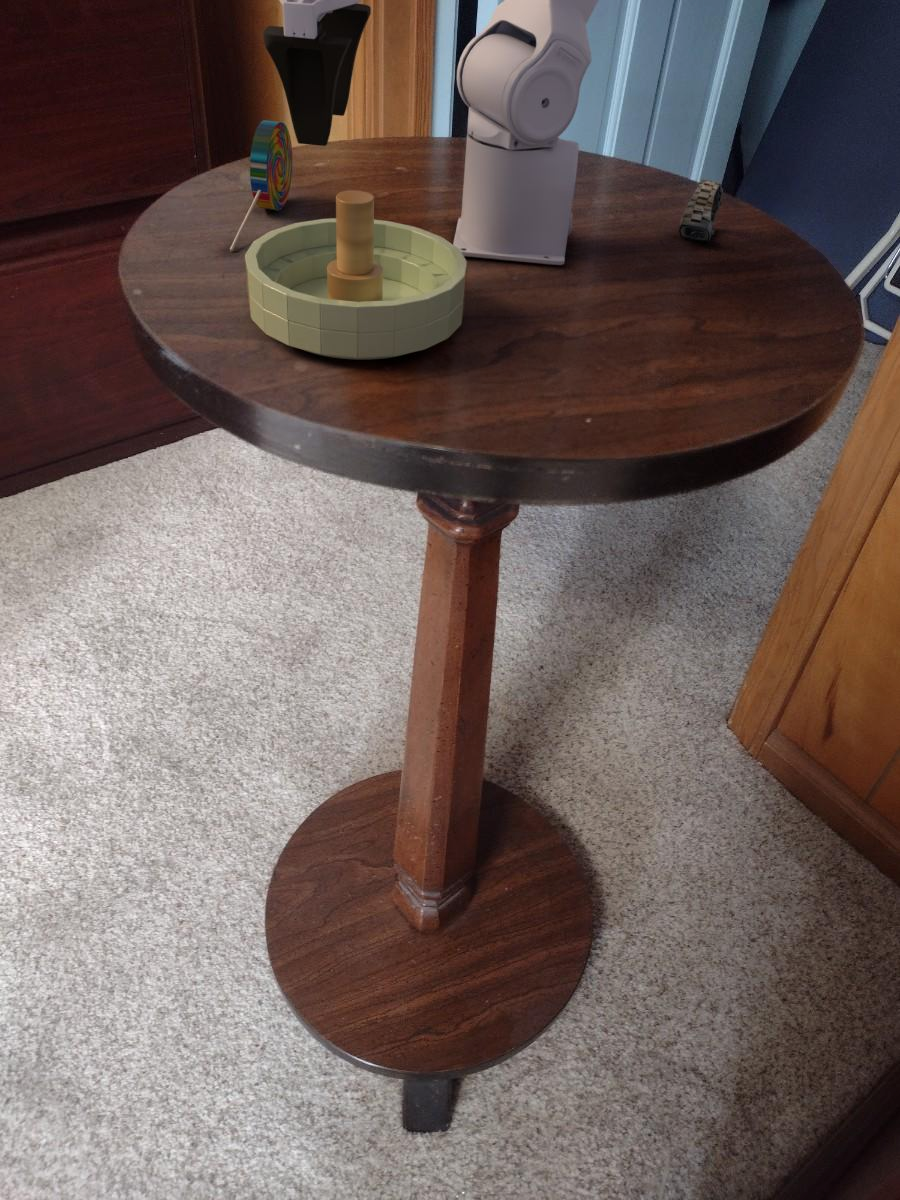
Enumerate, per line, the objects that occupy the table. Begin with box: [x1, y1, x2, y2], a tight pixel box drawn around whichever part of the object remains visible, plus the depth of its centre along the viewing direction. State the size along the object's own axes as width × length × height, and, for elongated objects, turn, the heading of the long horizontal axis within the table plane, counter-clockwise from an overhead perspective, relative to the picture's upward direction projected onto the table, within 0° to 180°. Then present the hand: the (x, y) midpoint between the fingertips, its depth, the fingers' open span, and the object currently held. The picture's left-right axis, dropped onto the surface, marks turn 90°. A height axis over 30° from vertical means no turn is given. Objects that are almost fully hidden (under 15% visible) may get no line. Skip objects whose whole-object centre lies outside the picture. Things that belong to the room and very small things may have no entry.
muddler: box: [327, 189, 383, 302], centre depth 69 cm, size 4×4×8 cm
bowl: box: [244, 217, 468, 361], centre depth 70 cm, size 16×16×4 cm
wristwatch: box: [678, 178, 724, 243], centre depth 87 cm, size 3×5×5 cm
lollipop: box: [229, 119, 294, 252], centre depth 83 cm, size 7×1×15 cm
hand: (322, 128), depth 72 cm, fingers open, 7 cm apart
